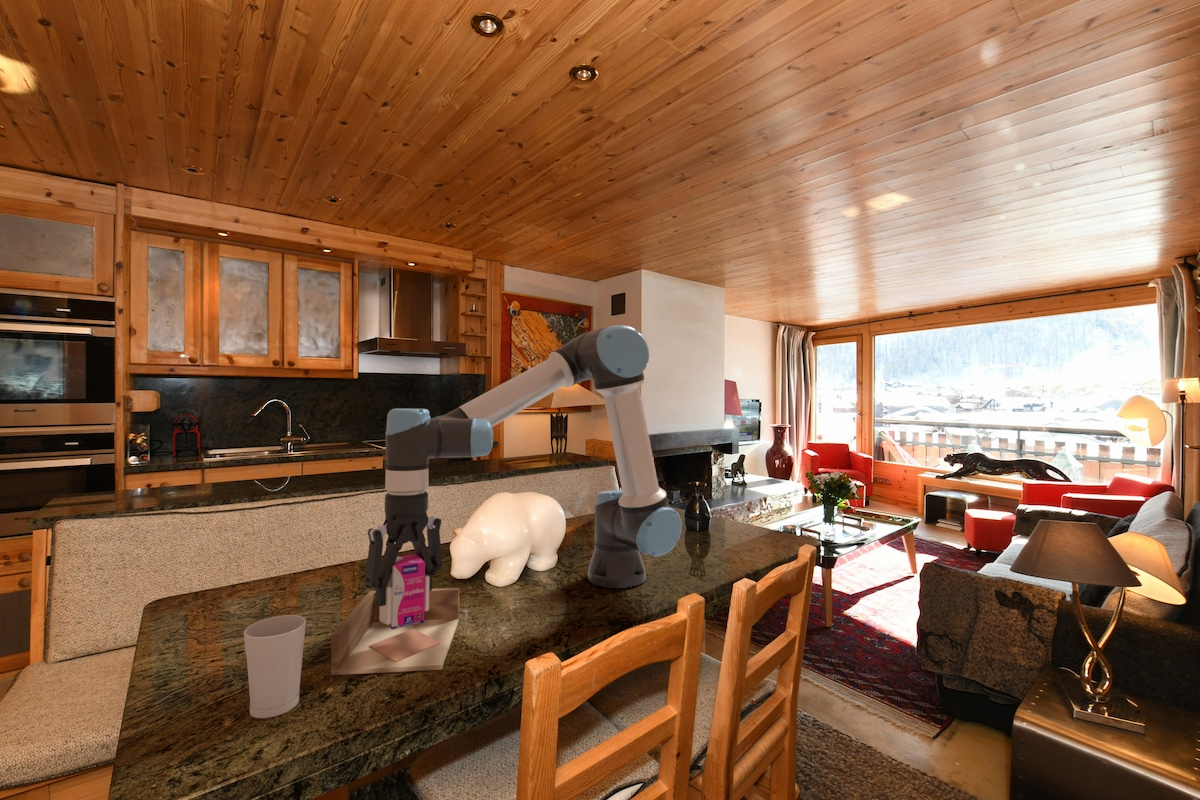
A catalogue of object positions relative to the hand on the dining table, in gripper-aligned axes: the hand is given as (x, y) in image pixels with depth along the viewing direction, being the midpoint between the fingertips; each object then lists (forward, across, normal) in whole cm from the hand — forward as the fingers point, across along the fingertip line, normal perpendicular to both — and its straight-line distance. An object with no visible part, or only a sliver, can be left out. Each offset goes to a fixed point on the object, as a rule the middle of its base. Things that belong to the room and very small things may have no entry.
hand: (404, 615), depth 95 cm
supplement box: (+1, 0, 0) cm, 1 cm away
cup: (+7, +22, +1) cm, 23 cm away
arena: (+6, -1, -2) cm, 7 cm away
